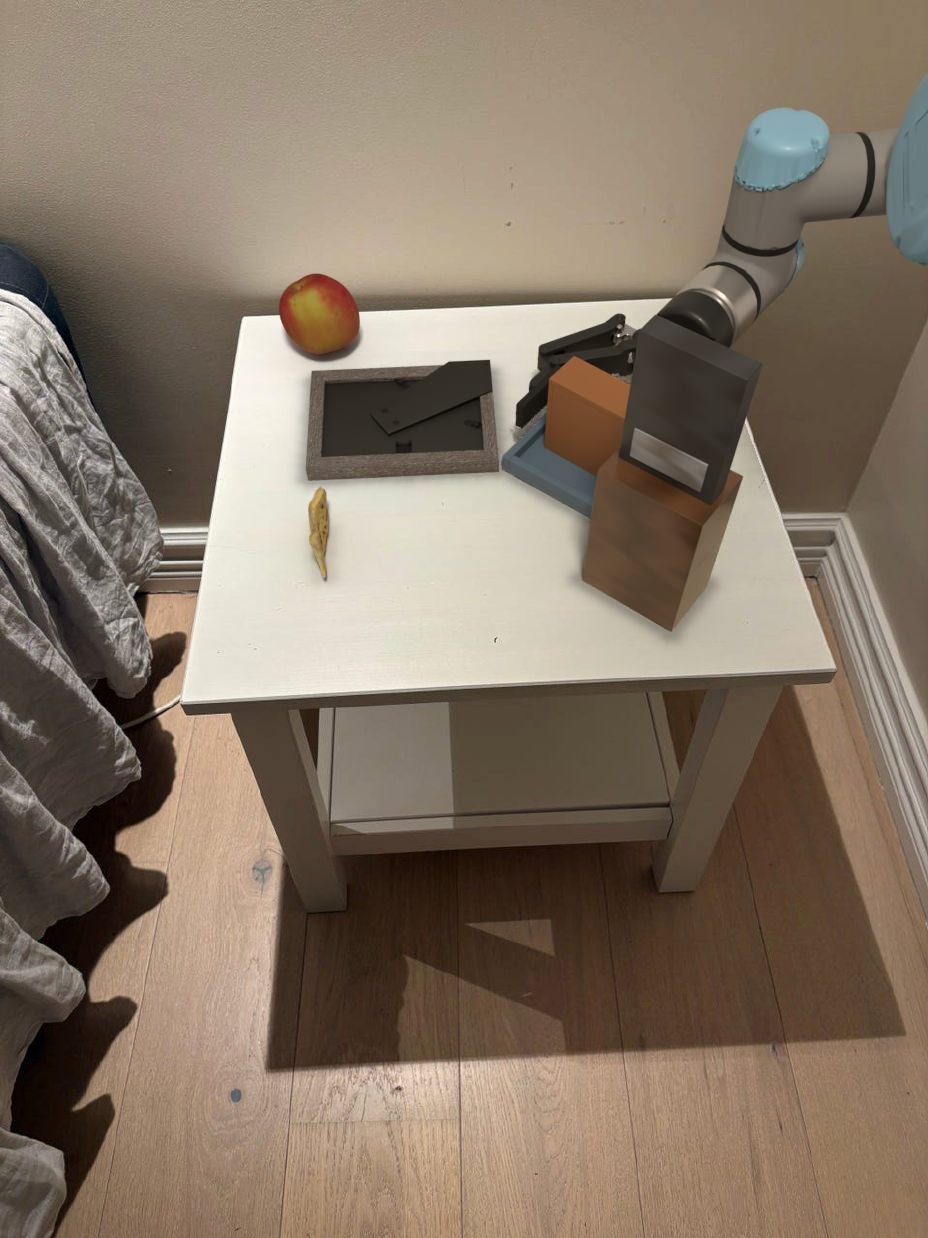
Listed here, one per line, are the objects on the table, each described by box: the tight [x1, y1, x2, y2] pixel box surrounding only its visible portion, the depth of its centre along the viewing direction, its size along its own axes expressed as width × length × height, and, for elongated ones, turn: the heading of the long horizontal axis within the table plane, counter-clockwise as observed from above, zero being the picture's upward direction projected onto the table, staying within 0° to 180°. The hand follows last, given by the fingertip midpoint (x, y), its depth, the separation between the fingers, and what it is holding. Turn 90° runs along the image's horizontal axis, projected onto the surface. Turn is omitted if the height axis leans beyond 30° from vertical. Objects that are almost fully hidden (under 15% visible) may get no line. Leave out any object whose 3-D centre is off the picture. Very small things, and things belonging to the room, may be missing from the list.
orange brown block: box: [544, 356, 631, 477], centre depth 88 cm, size 10×4×9 cm, turn 51°
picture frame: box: [305, 359, 500, 481], centre depth 94 cm, size 13×2×18 cm
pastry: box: [307, 486, 329, 579], centre depth 85 cm, size 9×2×5 cm, turn 4°
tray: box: [501, 412, 597, 519], centre depth 91 cm, size 14×12×2 cm
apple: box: [278, 273, 361, 355], centre depth 98 cm, size 8×8×8 cm
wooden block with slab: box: [581, 314, 764, 632], centre depth 73 cm, size 9×6×26 cm, turn 52°
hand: (580, 449), depth 86 cm, fingers open, 13 cm apart
